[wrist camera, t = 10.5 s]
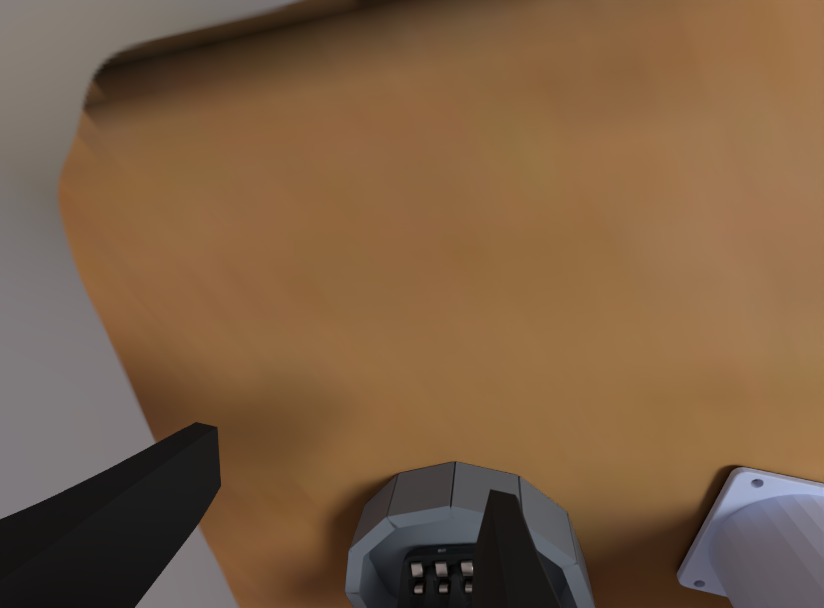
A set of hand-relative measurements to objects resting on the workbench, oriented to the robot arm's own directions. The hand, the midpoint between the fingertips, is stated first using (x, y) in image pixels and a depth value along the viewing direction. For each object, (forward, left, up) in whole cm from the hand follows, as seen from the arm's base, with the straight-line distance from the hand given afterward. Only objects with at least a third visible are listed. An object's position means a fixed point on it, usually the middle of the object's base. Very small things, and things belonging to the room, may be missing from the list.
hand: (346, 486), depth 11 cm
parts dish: (-5, +14, -10) cm, 18 cm away
